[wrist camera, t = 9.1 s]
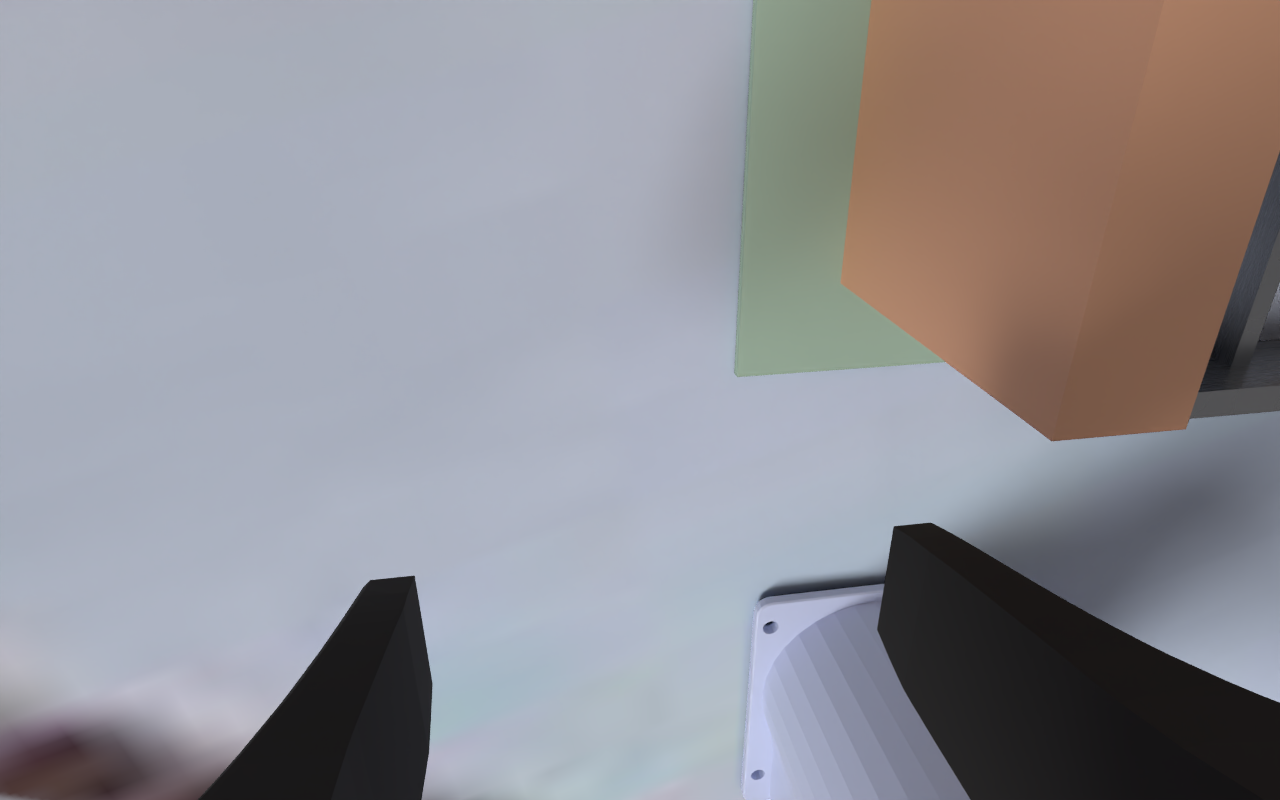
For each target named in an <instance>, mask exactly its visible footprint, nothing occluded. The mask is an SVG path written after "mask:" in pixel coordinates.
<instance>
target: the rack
mask: <svg viewBox="0 0 1280 800" xmlns="http://www.w3.org/2000/svg"><path fill="white" fill-rule="evenodd" d="M1279 282H1280V152H1279V155H1278V158H1277V161H1276V164H1275V167H1274V170H1273V173H1272V176H1271V178H1270V181H1269V184H1268V187H1267V190H1266V193H1265V196H1264V199H1263V202H1262V205H1261V208H1260V211H1259V214H1258V217H1257V220H1256V223H1255V226H1254V229H1253V232H1252V235H1251V238H1250V241H1249V244H1248V247H1247V249H1246V252H1245V255H1244V258H1243V261H1242V264H1241V267H1240V270H1239V273H1238V276H1237V279H1236V282H1235V285H1234V288H1233V291H1232V294H1231V297H1230V300H1229V303H1228V306H1227V309H1226V312H1225V315H1224V318H1223V320H1222V323H1221V326H1220V329H1219V332H1218V335H1217V338H1216V341H1215V344H1214V347H1213V350H1212V353H1211V356H1210V359H1209V362H1208V365H1207V368H1206V371H1205V374H1204V377H1203V380H1202V383H1201V386H1200V389H1199V391H1198V394H1197V397H1196V400H1195V403H1194V406H1193V409H1192V412H1191V415H1190V418H1189V419H1191V418H1203V417H1214V416H1226V415H1237V414H1249V413H1260V412H1272V411H1280V340H1271V341H1258V340H1259V337H1260V334H1261V331H1262V329H1263V326H1264V323H1265V320H1266V318H1267V315H1268V312H1269V309H1270V307H1271V304H1272V301H1273V298H1274V296H1275V293H1276V290H1277V287H1278V285H1279Z"/></svg>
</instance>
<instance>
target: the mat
mask: <svg viewBox="0 0 1280 800" xmlns="http://www.w3.org/2000/svg"><path fill="white" fill-rule="evenodd" d="M870 8H871V0H753V16H752V36H751V55H750V75H749V95H748V114H747V134H746V154H745V173H744V193H743V213H742V232H741V252H740V271H739V291H738V311H737V330H736V350H735V370H734V373H735V375H736V376H737V377H745V376H759V375H773V374H787V373H801V372H815V371H829V370H843V369H856V368H870V367H884V366H898V365H912V364H926V363H940V362H945V361H944V360H942V359H941V358H940V357H938V356H937V355H936V354H934V353H933V352H932V351H930V350H929V349H928V348H926V347H925V346H924V345H922V344H921V343H920V342H918V341H917V340H916V339H914V338H913V337H912V336H910V335H909V334H908V333H906V332H905V331H904V330H902V329H901V328H900V327H898V326H897V325H896V324H894V323H893V322H892V321H890V320H889V319H888V318H886V317H885V316H884V315H882V314H881V313H880V312H878V311H877V310H876V309H874V308H873V307H872V306H870V305H869V304H868V303H866V302H865V301H864V300H862V299H861V298H860V297H858V296H857V295H855V294H854V293H853V292H851V291H850V290H849V289H847V288H846V287H845V286H843V285H842V284H841V274H842V265H843V255H844V246H845V237H846V228H847V219H848V210H849V200H850V191H851V182H852V173H853V164H854V155H855V145H856V136H857V127H858V118H859V109H860V100H861V90H862V81H863V72H864V63H865V54H866V45H867V36H868V26H869V17H870Z"/></svg>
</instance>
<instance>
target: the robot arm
mask: <svg viewBox="0 0 1280 800" xmlns="http://www.w3.org/2000/svg"><path fill="white" fill-rule="evenodd" d="M771 621H773V623H771V624H770V625H767V626H764V625H765V624H766V623H768V622H771ZM431 703H432V679H431V672H430V666H429V660H428V654H427V648H426V642H425V636H424V630H423V624H422V618H421V612H420V606H419V600H418V594H417V588H416V582H415V576H407V577H397V578H388V579H378V580H370V581H369V582H368V583H367V584H366V585H365V586H364V587H363V589H362V590H361V592H360V593H359V595H358V596H357V598H356V599H355V601H354V602H353V604H352V605H351V607H350V608H349V610H348V611H347V613H346V614H345V616H344V617H343V619H342V620H341V622H340V623H339V625H338V626H337V628H336V629H335V631H334V632H333V633H332V635H331V636H330V638H329V639H328V641H327V642H326V643H325V645H324V646H323V648H322V649H321V651H320V652H319V653H318V655H317V656H316V657H315V659H314V660H313V661H312V663H311V664H310V666H309V667H308V668H307V670H306V671H305V672H304V674H303V675H302V676H301V678H300V679H299V680H298V682H297V683H296V684H295V686H294V687H293V688H292V690H291V691H290V692H289V694H288V695H287V696H286V698H285V699H284V700H283V701H282V703H281V704H280V705H279V706H278V708H277V709H276V710H275V711H274V713H273V714H272V715H271V716H270V717H269V719H268V720H267V721H266V722H265V723H264V725H263V726H262V727H261V728H260V729H259V731H258V732H257V733H256V734H255V736H254V737H253V738H252V739H251V740H250V742H249V743H248V744H247V745H246V746H245V748H244V749H243V750H242V751H241V752H240V754H239V755H238V756H237V757H236V758H235V759H234V760H233V762H232V763H231V764H230V765H229V766H228V767H227V768H226V769H225V771H224V772H223V773H222V774H221V775H220V776H219V777H218V778H217V780H216V781H215V782H214V783H213V784H212V785H211V786H210V787H209V788H208V789H207V790H206V791H205V793H204V794H203V795H202V796H201V797H200V798H199V799H198V800H421V798H422V792H423V786H424V780H425V774H426V768H427V761H428V755H429V741H430V724H431ZM741 790H742V793H743V797H744V798H745V799H746V800H769V799H771V800H1280V703H1279V702H1276V701H1274V700H1271V699H1269V698H1266V697H1264V696H1261V695H1259V694H1256V693H1254V692H1251V691H1249V690H1247V689H1244V688H1242V687H1240V686H1237V685H1235V684H1232V683H1230V682H1228V681H1225V680H1223V679H1221V678H1219V677H1217V676H1214V675H1212V674H1210V673H1208V672H1206V671H1203V670H1201V669H1199V668H1197V667H1195V666H1192V665H1190V664H1188V663H1186V662H1184V661H1181V660H1179V659H1177V658H1175V657H1173V656H1170V655H1168V654H1166V653H1164V652H1162V651H1160V650H1158V649H1156V648H1154V647H1152V646H1150V645H1148V644H1146V643H1144V642H1142V641H1140V640H1138V639H1136V638H1134V637H1132V636H1130V635H1129V634H1127V633H1125V632H1123V631H1121V630H1119V629H1117V628H1115V627H1113V626H1111V625H1110V624H1108V623H1106V622H1104V621H1102V620H1100V619H1098V618H1096V617H1094V616H1093V615H1091V614H1089V613H1087V612H1085V611H1084V610H1082V609H1080V608H1078V607H1076V606H1075V605H1073V604H1071V603H1069V602H1067V601H1066V600H1064V599H1062V598H1060V597H1059V596H1057V595H1055V594H1053V593H1052V592H1050V591H1048V590H1047V589H1045V588H1043V587H1041V586H1040V585H1038V584H1036V583H1035V582H1033V581H1031V580H1029V579H1028V578H1026V577H1024V576H1023V575H1021V574H1019V573H1018V572H1016V571H1014V570H1013V569H1011V568H1009V567H1008V566H1006V565H1004V564H1003V563H1001V562H999V561H998V560H996V559H994V558H993V557H991V556H989V555H988V554H986V553H984V552H982V551H981V550H979V549H977V548H976V547H974V546H972V545H971V544H969V543H967V542H966V541H964V540H962V539H960V538H959V537H957V536H955V535H953V534H952V533H950V532H948V531H946V530H944V529H942V528H940V527H938V526H936V525H935V524H933V523H923V524H913V525H903V526H894V529H893V535H892V541H891V547H890V553H889V559H888V565H887V571H886V577H885V584H877V585H868V586H859V587H851V588H842V589H833V590H824V591H815V592H807V593H798V594H789V595H780V596H771V597H767V598H763V599H762V600H760V601H759V602H758V603H757V604H756V605H755V608H754V614H753V628H752V642H751V655H750V669H749V682H748V696H747V710H746V723H745V737H744V751H743V764H742V778H741Z"/></svg>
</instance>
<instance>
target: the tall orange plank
mask: <svg viewBox="0 0 1280 800" xmlns="http://www.w3.org/2000/svg"><path fill="white" fill-rule="evenodd" d="M1279 152H1280V0H871V8H870V17H869V26H868V36H867V45H866V54H865V63H864V72H863V81H862V90H861V100H860V109H859V118H858V127H857V136H856V145H855V155H854V164H853V173H852V182H851V191H850V200H849V210H848V219H847V228H846V237H845V246H844V255H843V265H842V274H841V284H842V285H843V286H845V287H846V288H847V289H849V290H850V291H851V292H853V293H854V294H855V295H857V296H858V297H860V298H861V299H862V300H864V301H865V302H866V303H868V304H869V305H870V306H872V307H873V308H874V309H876V310H877V311H878V312H880V313H881V314H882V315H884V316H885V317H886V318H888V319H889V320H890V321H892V322H893V323H894V324H896V325H897V326H898V327H900V328H901V329H902V330H904V331H905V332H906V333H908V334H909V335H910V336H912V337H913V338H914V339H916V340H917V341H918V342H920V343H921V344H922V345H924V346H925V347H926V348H928V349H929V350H930V351H932V352H933V353H934V354H936V355H937V356H938V357H940V358H941V359H942V360H944V361H945V362H946V363H948V364H949V365H950V366H952V367H953V368H954V369H956V370H957V371H959V372H960V373H961V374H963V375H964V376H965V377H967V378H968V379H969V380H971V381H972V382H973V383H975V384H976V385H977V386H979V387H980V388H981V389H983V390H984V391H985V392H987V393H988V394H989V395H991V396H992V397H993V398H995V399H996V400H997V401H999V402H1000V403H1001V404H1003V405H1004V406H1005V407H1007V408H1008V409H1009V410H1011V411H1012V412H1013V413H1015V414H1016V415H1017V416H1019V417H1020V418H1021V419H1023V420H1024V421H1025V422H1027V423H1028V424H1029V425H1031V426H1032V427H1033V428H1035V429H1036V430H1037V431H1039V432H1040V433H1041V434H1043V435H1044V436H1045V437H1047V438H1048V439H1049V440H1051V441H1060V440H1071V439H1082V438H1093V437H1104V436H1116V435H1127V434H1138V433H1149V432H1160V431H1171V430H1182V429H1186V427H1187V424H1188V421H1189V418H1190V415H1191V412H1192V409H1193V406H1194V403H1195V400H1196V397H1197V394H1198V391H1199V389H1200V386H1201V383H1202V380H1203V377H1204V374H1205V371H1206V368H1207V365H1208V362H1209V359H1210V356H1211V353H1212V350H1213V347H1214V344H1215V341H1216V338H1217V335H1218V332H1219V329H1220V326H1221V323H1222V320H1223V318H1224V315H1225V312H1226V309H1227V306H1228V303H1229V300H1230V297H1231V294H1232V291H1233V288H1234V285H1235V282H1236V279H1237V276H1238V273H1239V270H1240V267H1241V264H1242V261H1243V258H1244V255H1245V252H1246V249H1247V247H1248V244H1249V241H1250V238H1251V235H1252V232H1253V229H1254V226H1255V223H1256V220H1257V217H1258V214H1259V211H1260V208H1261V205H1262V202H1263V199H1264V196H1265V193H1266V190H1267V187H1268V184H1269V181H1270V178H1271V176H1272V173H1273V170H1274V167H1275V164H1276V161H1277V158H1278V155H1279Z"/></svg>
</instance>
